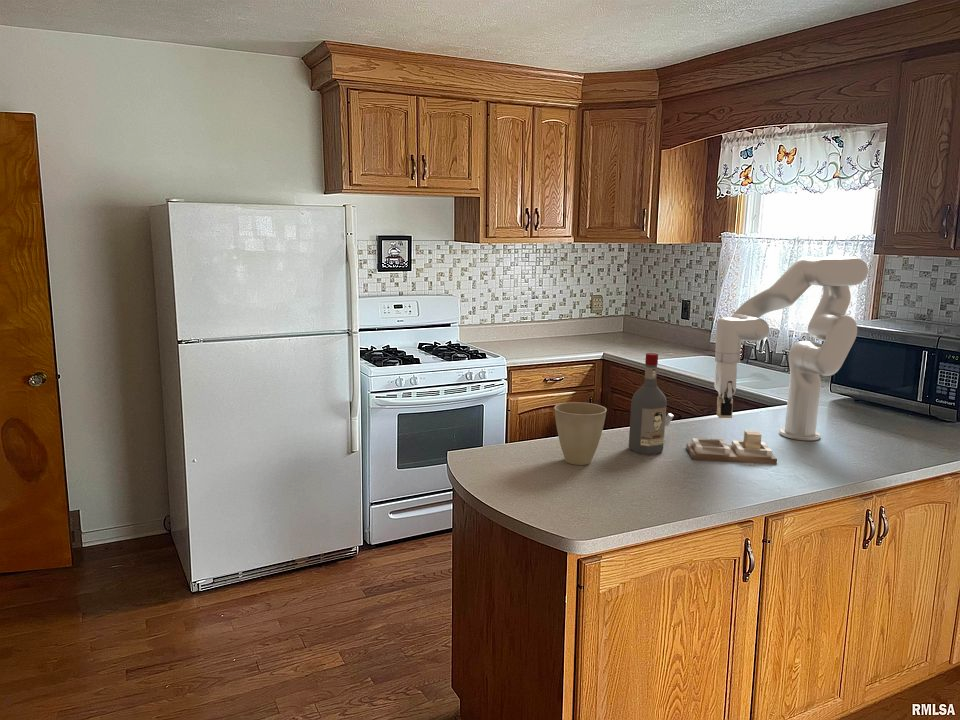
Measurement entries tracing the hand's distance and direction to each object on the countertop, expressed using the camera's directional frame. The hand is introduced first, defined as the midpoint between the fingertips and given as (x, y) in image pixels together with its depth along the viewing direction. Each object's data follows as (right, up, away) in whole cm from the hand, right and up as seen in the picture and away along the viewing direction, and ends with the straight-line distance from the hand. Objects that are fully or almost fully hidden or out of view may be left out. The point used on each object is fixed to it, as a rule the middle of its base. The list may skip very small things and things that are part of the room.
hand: (724, 412), depth 241 cm
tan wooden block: (0, -1, 0) cm, 1 cm away
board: (-3, -12, -13) cm, 18 cm away
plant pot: (-50, -13, -21) cm, 55 cm away
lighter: (-19, -8, +6) cm, 21 cm away
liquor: (-27, -11, -10) cm, 31 cm away
